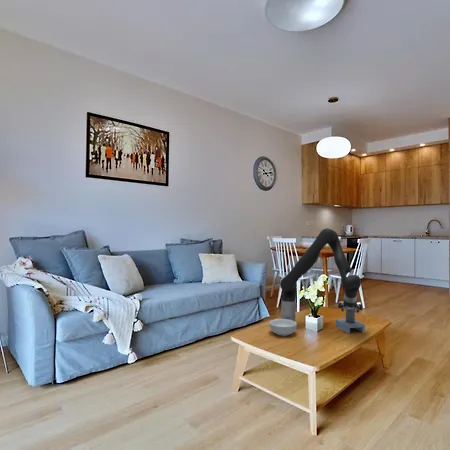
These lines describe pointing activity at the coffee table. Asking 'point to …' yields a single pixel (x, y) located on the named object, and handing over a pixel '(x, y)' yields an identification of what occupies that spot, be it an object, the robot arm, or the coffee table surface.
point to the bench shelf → (349, 325)
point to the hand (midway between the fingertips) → (349, 311)
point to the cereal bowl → (283, 326)
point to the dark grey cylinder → (350, 315)
